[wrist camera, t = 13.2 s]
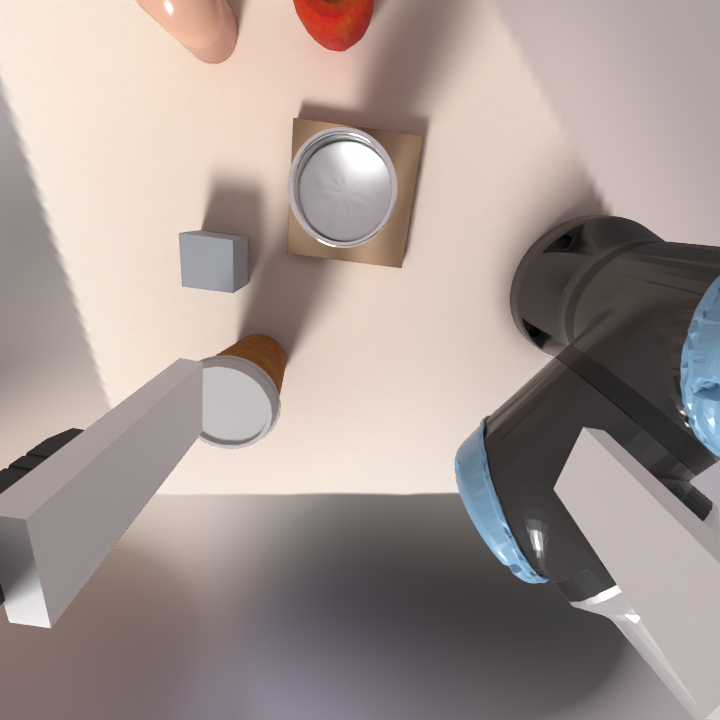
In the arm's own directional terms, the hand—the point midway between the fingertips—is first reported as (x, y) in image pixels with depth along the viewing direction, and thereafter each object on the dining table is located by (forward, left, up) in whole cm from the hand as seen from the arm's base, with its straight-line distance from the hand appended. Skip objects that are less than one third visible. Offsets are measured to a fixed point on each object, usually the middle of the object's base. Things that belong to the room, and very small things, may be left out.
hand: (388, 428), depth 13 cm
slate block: (+16, 0, -30) cm, 34 cm away
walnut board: (+3, -8, -30) cm, 31 cm away
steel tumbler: (+3, -8, -28) cm, 29 cm away
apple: (+6, -21, -30) cm, 37 cm away
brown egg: (+17, -20, -30) cm, 39 cm away
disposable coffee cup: (+12, +11, -30) cm, 34 cm away
